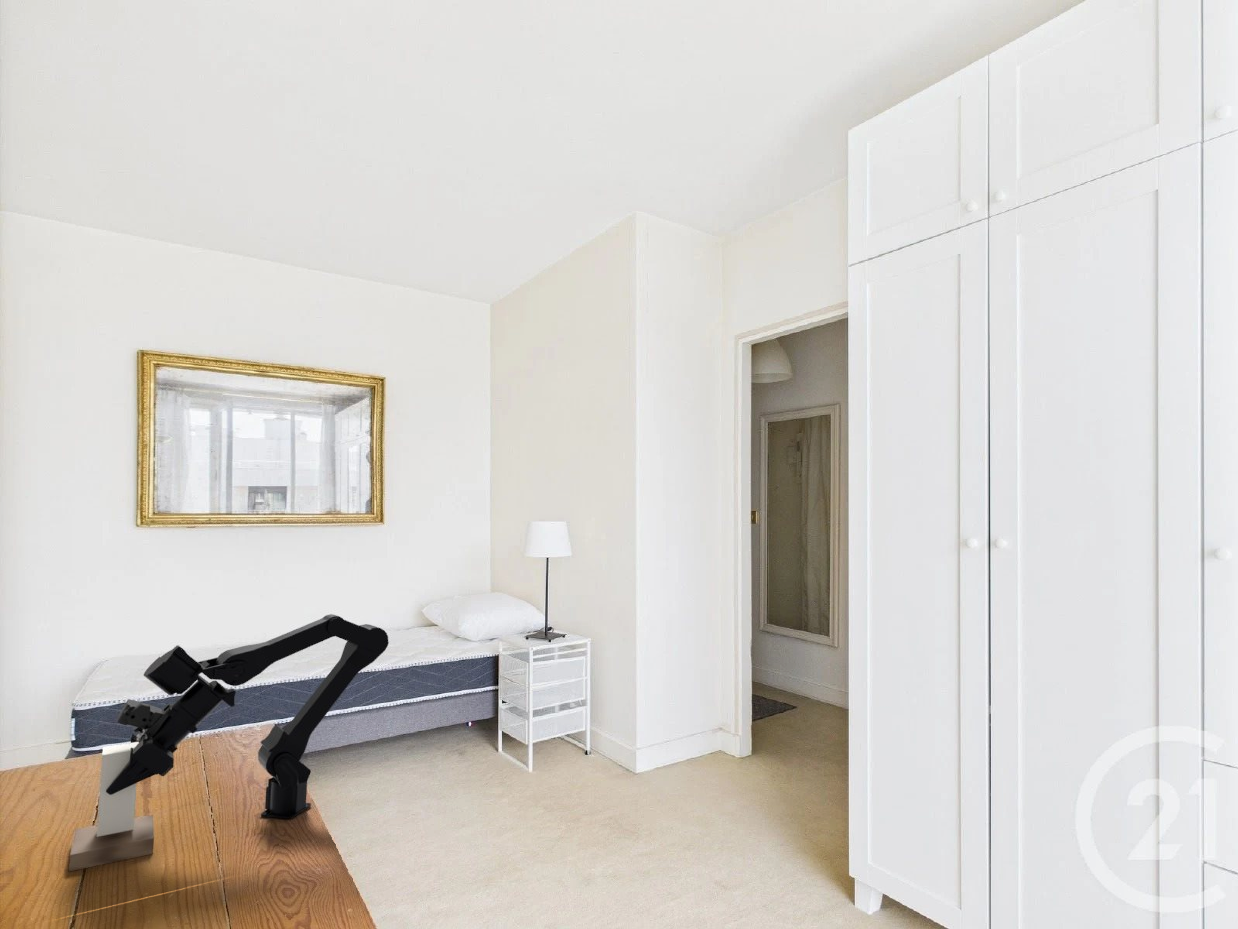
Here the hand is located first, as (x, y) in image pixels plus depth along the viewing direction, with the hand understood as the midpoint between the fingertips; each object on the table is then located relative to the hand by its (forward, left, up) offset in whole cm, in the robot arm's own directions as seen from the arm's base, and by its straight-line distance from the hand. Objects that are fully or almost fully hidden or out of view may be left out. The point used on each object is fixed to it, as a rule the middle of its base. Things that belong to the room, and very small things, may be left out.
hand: (108, 788), depth 117 cm
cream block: (-1, -1, -7) cm, 7 cm away
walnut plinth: (-1, -1, -10) cm, 10 cm away
